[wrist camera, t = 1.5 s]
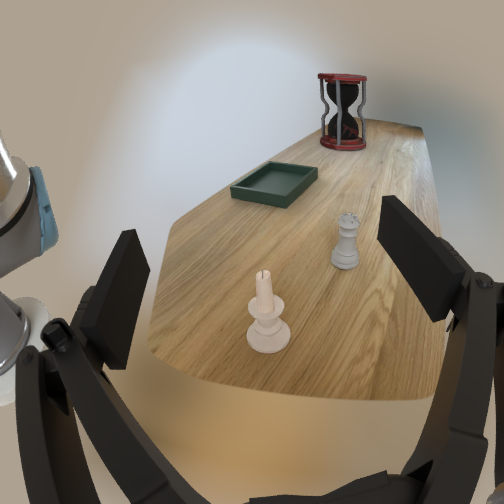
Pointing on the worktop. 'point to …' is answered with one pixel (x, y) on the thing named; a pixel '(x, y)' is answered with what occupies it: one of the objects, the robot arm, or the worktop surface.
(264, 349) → the candle
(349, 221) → the rook chess piece
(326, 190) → the worktop surface
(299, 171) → the tray
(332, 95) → the hourglass
